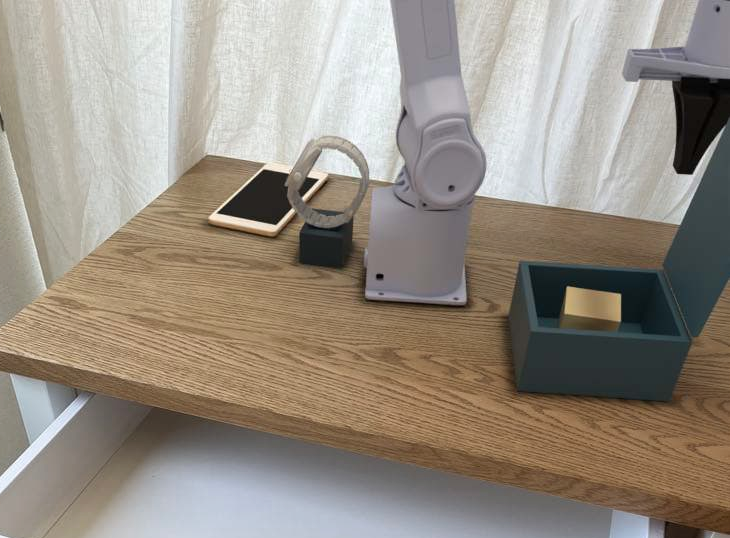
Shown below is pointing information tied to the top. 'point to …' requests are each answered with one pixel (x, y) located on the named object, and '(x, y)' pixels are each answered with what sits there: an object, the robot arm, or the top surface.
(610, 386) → the chest
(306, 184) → the cell phone
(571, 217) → the top surface
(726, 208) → the lid
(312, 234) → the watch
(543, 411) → the top surface
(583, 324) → the block
